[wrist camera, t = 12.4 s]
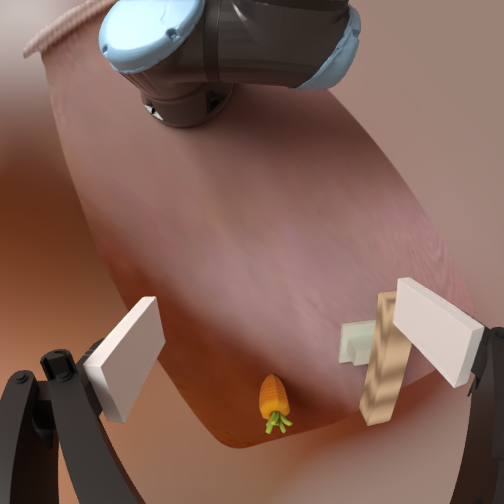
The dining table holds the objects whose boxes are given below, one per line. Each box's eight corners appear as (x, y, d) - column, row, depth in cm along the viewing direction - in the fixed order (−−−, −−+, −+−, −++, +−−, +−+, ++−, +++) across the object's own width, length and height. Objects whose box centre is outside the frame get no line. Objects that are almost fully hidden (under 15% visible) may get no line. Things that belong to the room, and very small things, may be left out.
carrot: (286, 365, 50) (297, 420, 35) (281, 385, 51) (289, 440, 36) (260, 363, 50) (263, 418, 35) (256, 383, 51) (257, 439, 36)
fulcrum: (342, 323, 48) (352, 339, 42) (398, 316, 48) (413, 329, 42) (338, 360, 50) (347, 377, 44) (392, 351, 50) (405, 366, 44)
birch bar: (378, 293, 41) (394, 306, 36) (402, 290, 41) (419, 302, 36) (359, 407, 46) (367, 425, 40) (379, 403, 46) (389, 420, 40)
